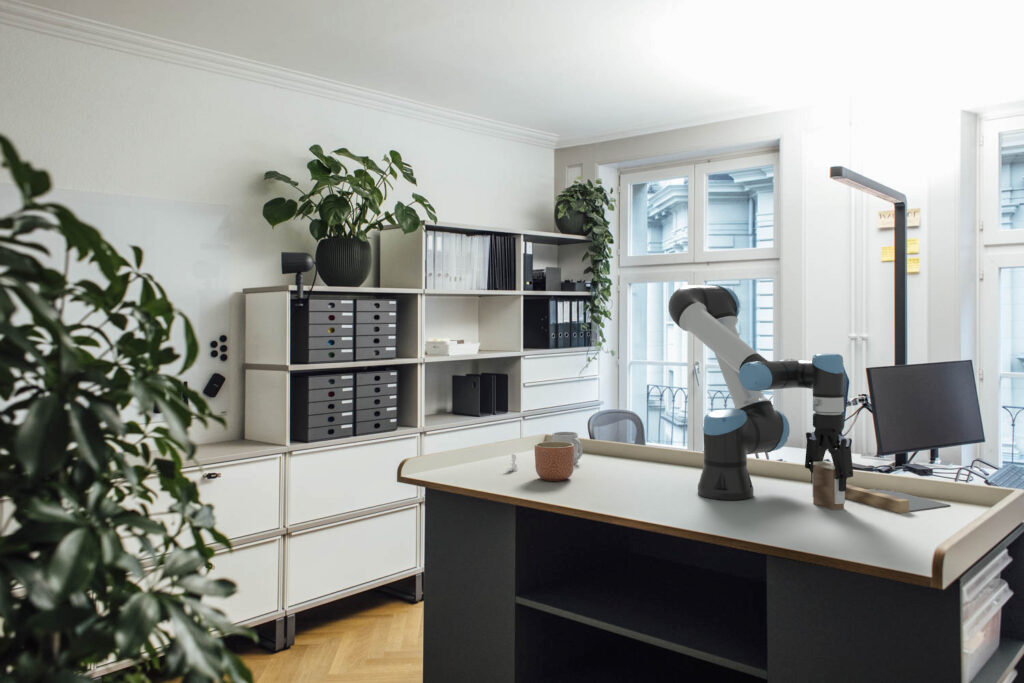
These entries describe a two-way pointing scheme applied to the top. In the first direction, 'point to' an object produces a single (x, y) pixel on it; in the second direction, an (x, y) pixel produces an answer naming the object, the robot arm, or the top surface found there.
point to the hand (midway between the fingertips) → (828, 499)
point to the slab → (824, 485)
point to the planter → (554, 460)
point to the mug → (570, 438)
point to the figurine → (513, 464)
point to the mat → (914, 500)
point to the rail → (877, 499)
